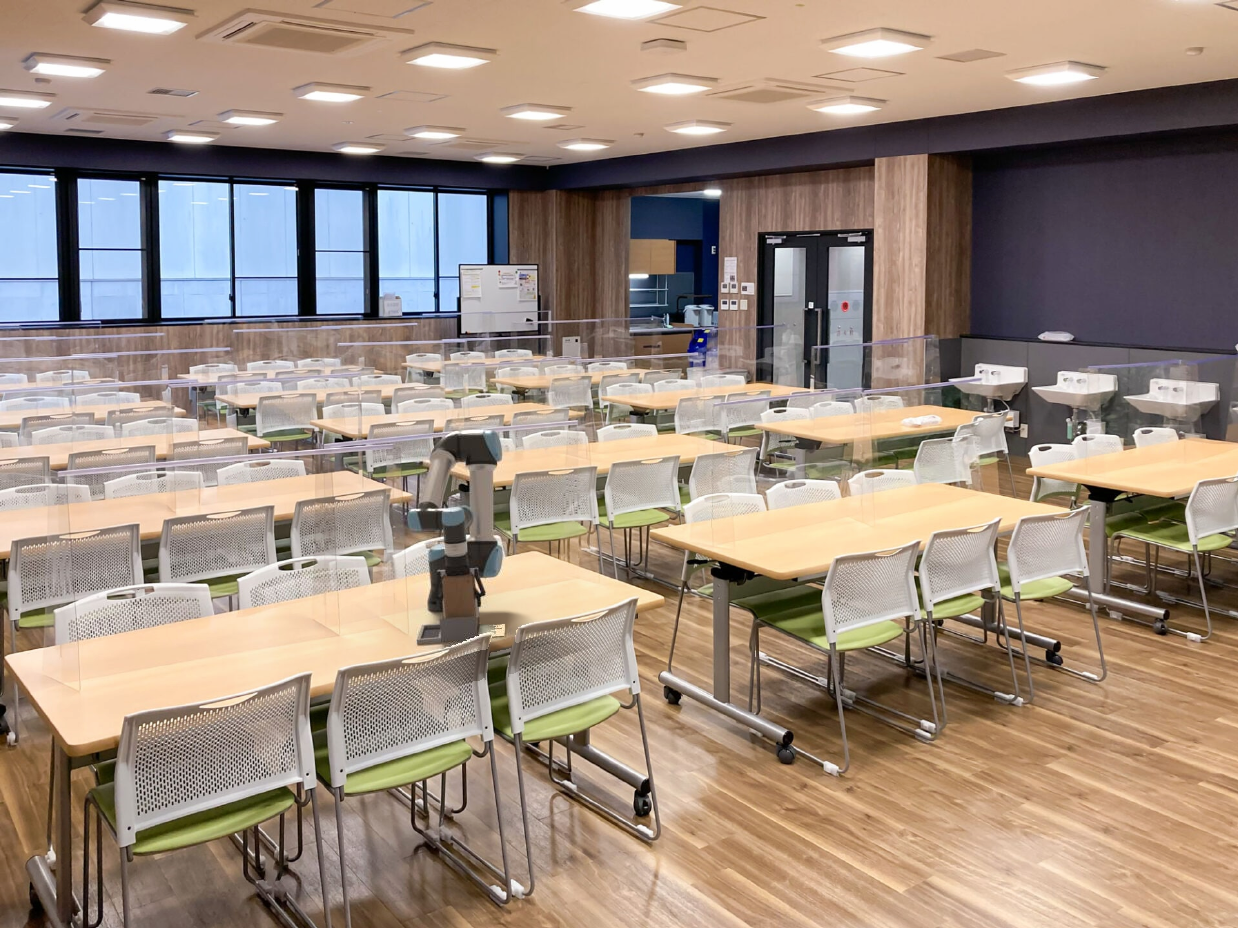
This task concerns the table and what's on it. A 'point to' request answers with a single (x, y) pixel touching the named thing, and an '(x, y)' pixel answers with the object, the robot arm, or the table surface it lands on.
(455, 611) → the wooden block
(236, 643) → the table surface
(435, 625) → the pit trap
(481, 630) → the pad
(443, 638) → the channel
